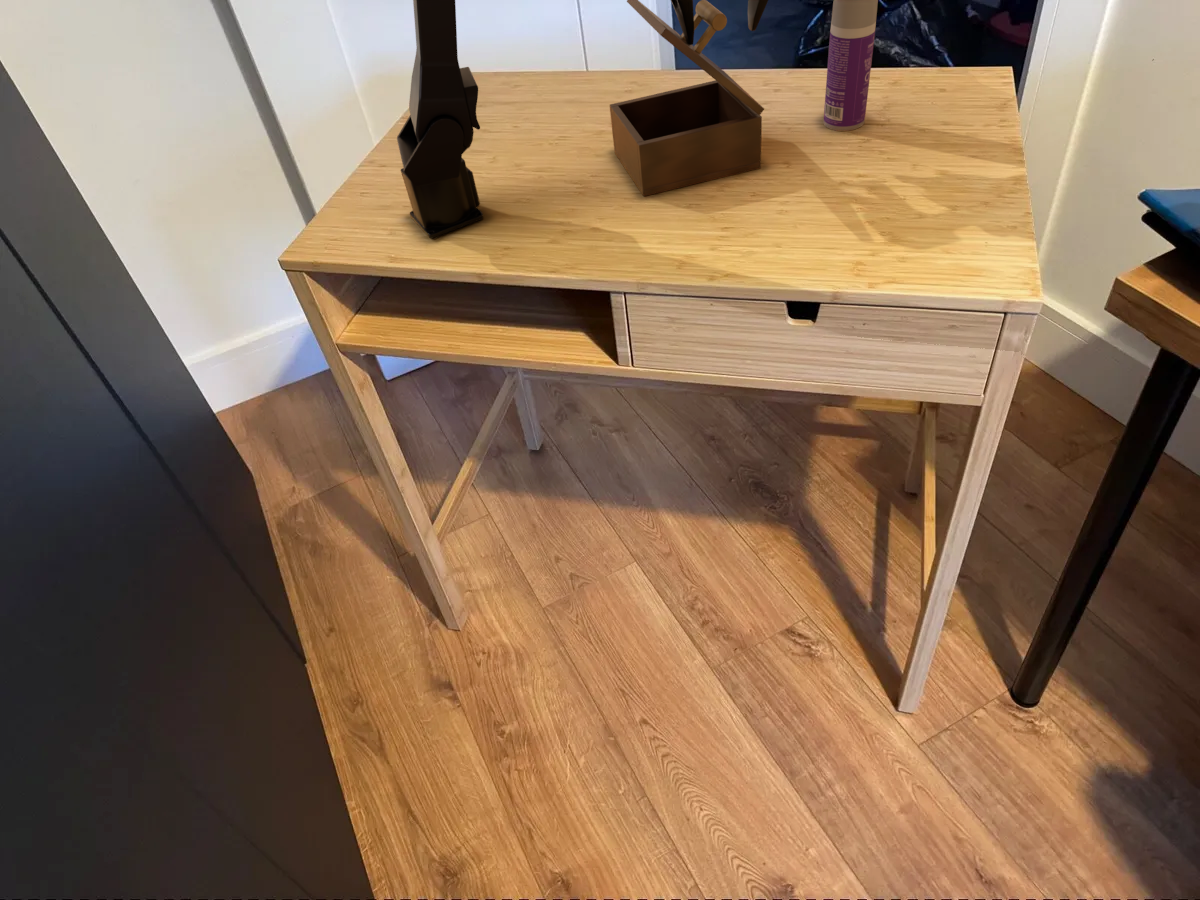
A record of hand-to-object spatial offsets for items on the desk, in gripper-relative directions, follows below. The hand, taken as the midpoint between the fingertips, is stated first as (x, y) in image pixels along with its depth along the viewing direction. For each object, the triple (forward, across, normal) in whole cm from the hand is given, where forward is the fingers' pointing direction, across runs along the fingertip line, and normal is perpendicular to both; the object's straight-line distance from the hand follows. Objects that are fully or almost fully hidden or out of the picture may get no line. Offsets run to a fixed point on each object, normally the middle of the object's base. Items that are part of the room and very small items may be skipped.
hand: (721, 36), depth 85 cm
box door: (+2, +3, 0) cm, 4 cm away
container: (+13, -15, 0) cm, 20 cm away
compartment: (+12, +5, 0) cm, 13 cm away
